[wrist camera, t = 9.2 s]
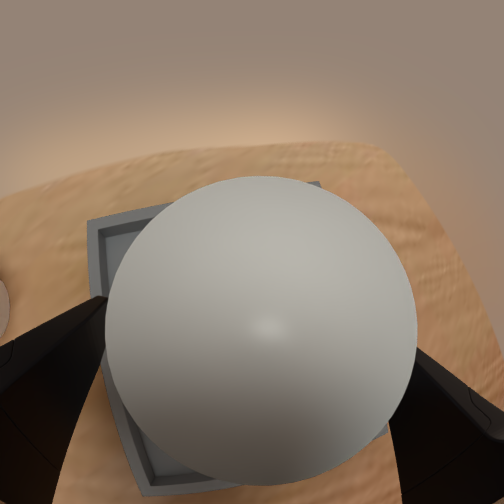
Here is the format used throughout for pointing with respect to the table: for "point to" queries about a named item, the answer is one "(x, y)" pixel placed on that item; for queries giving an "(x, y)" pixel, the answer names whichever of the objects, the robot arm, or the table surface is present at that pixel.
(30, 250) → the table surface
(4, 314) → the shot glass
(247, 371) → the candle
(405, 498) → the robot arm
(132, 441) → the tray
